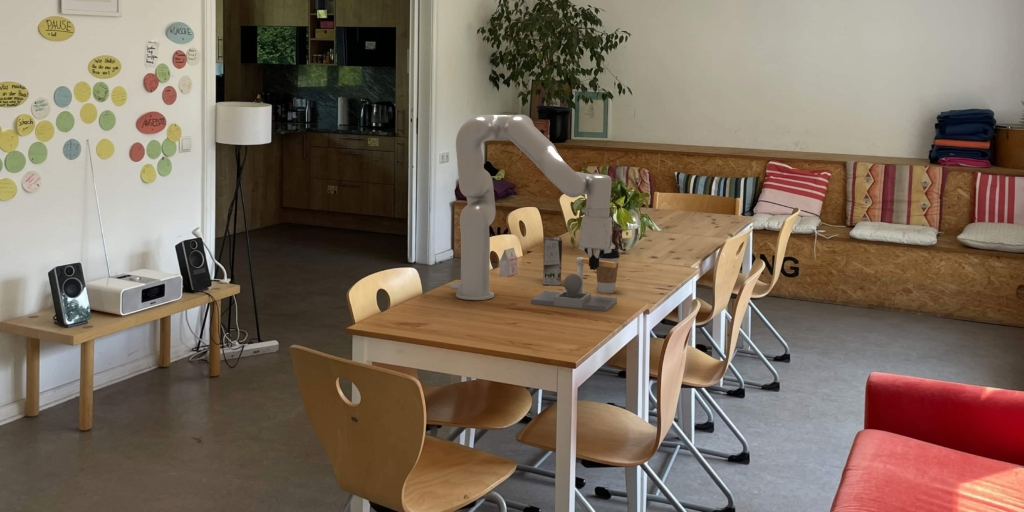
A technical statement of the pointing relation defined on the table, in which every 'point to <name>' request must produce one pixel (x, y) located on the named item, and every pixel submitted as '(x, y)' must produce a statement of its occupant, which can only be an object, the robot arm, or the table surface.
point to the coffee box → (552, 260)
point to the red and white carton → (508, 263)
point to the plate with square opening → (580, 302)
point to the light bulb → (572, 285)
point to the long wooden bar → (601, 263)
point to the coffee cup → (607, 272)
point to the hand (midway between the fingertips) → (593, 269)
